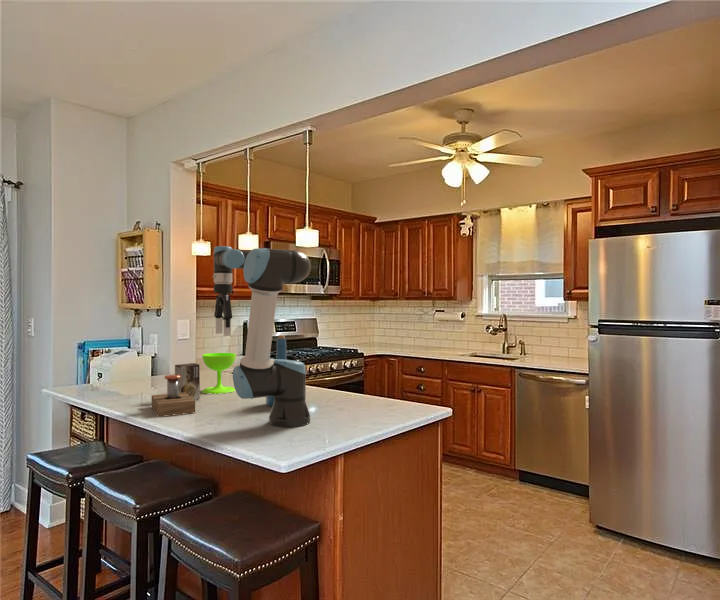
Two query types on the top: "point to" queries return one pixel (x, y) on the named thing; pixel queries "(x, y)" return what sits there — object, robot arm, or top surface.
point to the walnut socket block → (173, 404)
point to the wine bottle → (280, 355)
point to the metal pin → (172, 386)
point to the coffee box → (189, 379)
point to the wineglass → (219, 369)
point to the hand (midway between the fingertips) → (222, 334)
